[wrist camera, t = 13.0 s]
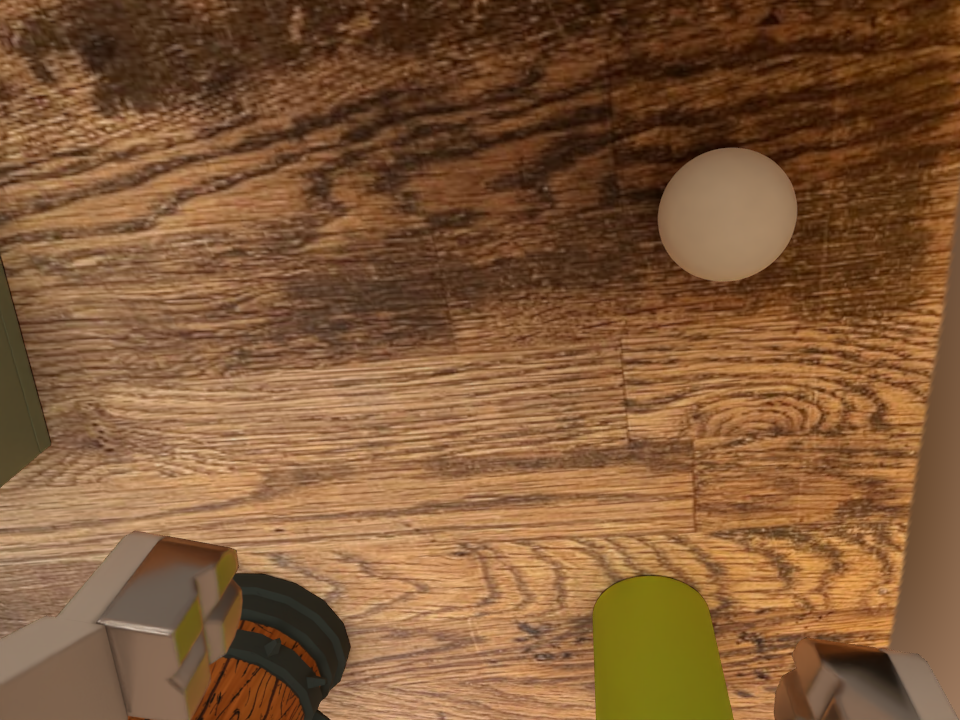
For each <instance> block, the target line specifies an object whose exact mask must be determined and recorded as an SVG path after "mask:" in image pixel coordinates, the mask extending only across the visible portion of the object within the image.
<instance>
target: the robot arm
mask: <svg viewBox="0 0 960 720" xmlns="http://www.w3.org/2000/svg"><path fill="white" fill-rule="evenodd" d="M238 568H239V564H238V557H237V551H236V550H235V549H232V548H229V547H224V546H218V545H213V544H208V543H202V542H197V541H191V540H186V539H181V538H175V537H170V536H161V535H156V534H150V533H145V532H139V531H133V532H132V533H130V534H128V535H126V536H125V537H123V538H122V539H121V541H120V542H119V543H118V544H117V545H116V547H115V548H114V549H113V550H112V551H111V552H110V554H109V555H108V556H107V557H106V558H105V560H104V561H103V562H102V563H101V564H100V565H99V567H98V568H97V569H96V570H95V571H94V573H93V574H92V575H91V576H90V577H89V579H88V580H87V581H86V582H85V583H84V584H83V586H82V587H81V588H80V589H79V590H78V592H77V593H76V594H75V595H74V596H73V597H72V599H71V600H70V601H69V602H68V603H67V605H66V606H65V607H64V608H63V609H62V611H61V612H60V613H59V614H58V615H57V616H56V617H53V616H44V617H42V618H40V619H38V620H36V621H34V622H32V623H30V624H28V625H26V626H24V627H23V628H21V629H19V630H17V631H15V632H13V633H11V634H9V635H7V636H5V637H3V638H1V639H0V720H128V716H132V717H139V718H146V719H153V720H191V719H192V717H193V715H194V713H195V711H196V710H197V708H198V706H199V704H200V702H201V700H202V698H203V696H204V695H205V693H206V691H207V689H208V687H209V685H210V683H211V674H210V667H209V665H211V664H212V663H214V662H215V661H217V660H218V659H220V658H221V657H223V656H224V655H226V653H227V651H228V649H229V647H230V645H231V643H232V641H233V639H234V637H235V635H236V631H237V628H238V625H239V621H240V618H241V612H242V602H243V601H242V590H241V588H240V587H239V586H238V585H237V583H236V582H235V581H234V580H233V579H232V578H233V577H234V575H235V573H236V571H237V570H238ZM792 657H793V660H794V663H795V666H796V669H794V670H792V671H790V672H788V673H787V674H785V675H783V676H782V677H781V680H780V682H779V685H778V687H777V690H776V692H775V704H774V718H775V720H959V719H958V717H957V715H956V713H955V711H954V710H953V708H952V706H951V704H950V702H949V700H948V699H947V697H946V695H945V693H944V691H943V689H942V688H941V686H940V684H939V682H938V680H937V679H936V677H935V675H934V673H933V671H932V669H931V668H930V666H929V664H928V663H927V661H925V659H924V658H922V657H921V656H920V655H919V654H913V653H906V652H900V651H893V650H887V649H877V648H875V647H869V646H862V645H855V644H848V643H841V642H834V641H827V640H821V639H814V638H807V637H805V638H803V639H802V640H800V641H799V642H798V643H797V645H796V647H795V649H794V651H793V653H792Z"/></svg>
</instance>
